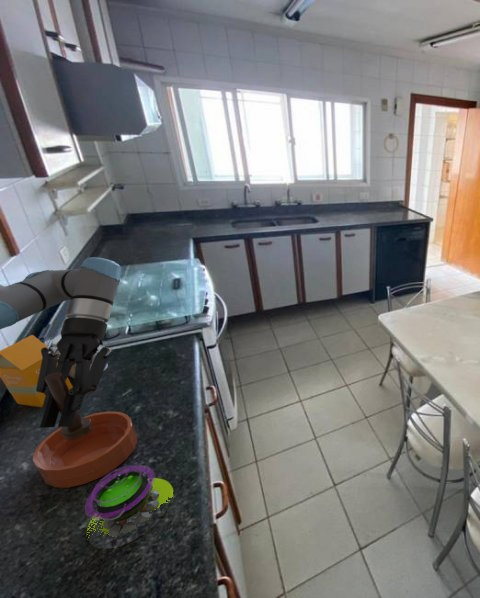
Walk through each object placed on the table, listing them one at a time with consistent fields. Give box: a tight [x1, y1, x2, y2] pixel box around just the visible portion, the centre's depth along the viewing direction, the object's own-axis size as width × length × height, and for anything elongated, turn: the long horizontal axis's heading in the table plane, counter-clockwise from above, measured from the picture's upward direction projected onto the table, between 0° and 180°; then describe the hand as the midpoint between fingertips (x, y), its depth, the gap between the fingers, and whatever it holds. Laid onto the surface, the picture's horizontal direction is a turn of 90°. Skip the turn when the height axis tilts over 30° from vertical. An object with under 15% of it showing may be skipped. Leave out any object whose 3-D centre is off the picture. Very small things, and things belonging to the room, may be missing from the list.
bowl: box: [32, 410, 138, 489], centre depth 81 cm, size 18×18×6 cm
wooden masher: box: [45, 372, 93, 441], centre depth 72 cm, size 5×5×16 cm
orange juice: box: [0, 334, 73, 408], centre depth 93 cm, size 8×9×20 cm
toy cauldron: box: [84, 465, 174, 538], centre depth 68 cm, size 15×15×11 cm
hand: (56, 426), depth 70 cm, fingers closed on wooden masher, 3 cm apart
